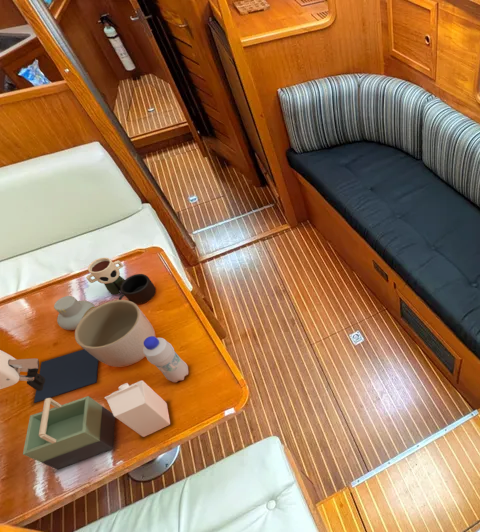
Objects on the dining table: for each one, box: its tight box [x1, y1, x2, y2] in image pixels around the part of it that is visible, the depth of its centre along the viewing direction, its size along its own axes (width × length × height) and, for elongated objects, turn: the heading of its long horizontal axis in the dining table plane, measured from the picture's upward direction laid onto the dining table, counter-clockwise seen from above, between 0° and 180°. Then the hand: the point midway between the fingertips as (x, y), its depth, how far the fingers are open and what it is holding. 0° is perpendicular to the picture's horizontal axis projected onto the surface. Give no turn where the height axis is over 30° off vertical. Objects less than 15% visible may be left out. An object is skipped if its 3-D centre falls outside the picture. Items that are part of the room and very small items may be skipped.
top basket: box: [22, 395, 103, 463], centre depth 98 cm, size 13×10×12 cm
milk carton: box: [104, 379, 171, 438], centre depth 104 cm, size 7×7×19 cm
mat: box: [33, 348, 100, 404], centre depth 120 cm, size 16×14×1 cm
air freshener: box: [53, 295, 97, 331], centre depth 129 cm, size 11×8×10 cm
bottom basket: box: [40, 405, 116, 470], centre depth 105 cm, size 13×10×6 cm
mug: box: [118, 273, 157, 305], centre depth 136 cm, size 12×9×7 cm
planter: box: [74, 299, 156, 368], centre depth 120 cm, size 17×17×15 cm
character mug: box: [85, 257, 125, 296], centre depth 137 cm, size 11×7×13 cm, turn 137°
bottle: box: [143, 336, 189, 383], centre depth 113 cm, size 7×7×20 cm
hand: (16, 392), depth 86 cm, fingers open, 9 cm apart
